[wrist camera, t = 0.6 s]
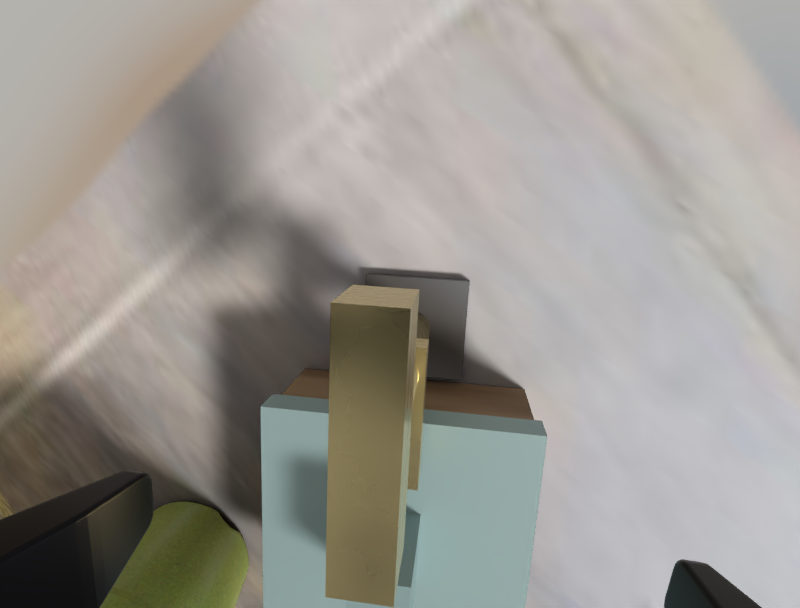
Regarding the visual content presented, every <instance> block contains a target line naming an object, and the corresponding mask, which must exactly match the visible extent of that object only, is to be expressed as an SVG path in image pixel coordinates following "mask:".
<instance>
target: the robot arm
mask: <svg viewBox="0 0 800 608" xmlns="http://www.w3.org/2000/svg"><path fill="white" fill-rule="evenodd" d="M152 518H153V497H152V482H151V478H150V476H149V475H148V474H147V473H144V472H138V471H132V470H125V471H122V472H119V473H117V474H114V475H112V476H109V477H107V478H104V479H102V480H99V481H97V482H94V483H91V484H89V485H86V486H84V487H81V488H79V489H76V490H74V491H71V492H69V493H66V494H64V495H61V496H59V497H56V498H54V499H51V500H49V501H46V502H44V503H41V504H39V505H36V506H33V507H31V508H28V509H26V510H23V511H21V512H18V513H16V514H13V515H11V516H8V517H6V518H3V519H1V520H0V608H100V606H101V605H102V603H103V602H104V600H105V599H106V597H107V596H108V594H109V592H110V591H111V589H112V587H113V586H114V584H115V582H116V581H117V579H118V577H119V576H120V574H121V572H122V571H123V569H124V567H125V566H126V564H127V563H128V561H129V559H130V558H131V556H132V554H133V553H134V551H135V549H136V548H137V546H138V544H139V543H140V541H141V539H142V538H143V536H144V534H145V533H146V531H147V529H148V528H149V526H150V524H151V521H152ZM664 608H762V607H760V606H759V605H758V604H757V603H755V602H754V601H753V600H752V599H750V598H749V597H748V596H747V595H745V594H744V593H743V592H742V591H740V590H739V589H738V588H737V587H735V586H734V585H733V584H732V583H731V582H729V581H728V580H727V579H726V578H724V577H723V576H722V575H721V574H719V573H718V572H717V571H716V570H714V569H713V568H712V567H711V566H709V565H708V564H705V563H702V562H696V561H689V560H679V561H677V563H676V564H675V566H674V569H673V572H672V576H671V579H670V583H669V586H668V590H667V593H666V597H665V603H664Z"/></svg>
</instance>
